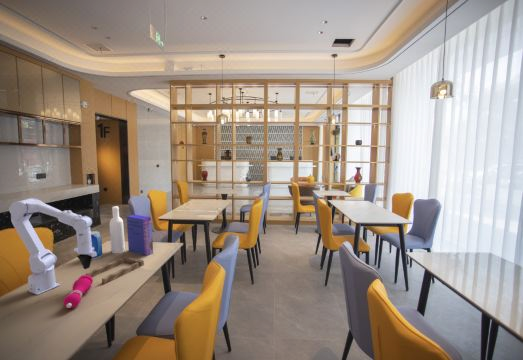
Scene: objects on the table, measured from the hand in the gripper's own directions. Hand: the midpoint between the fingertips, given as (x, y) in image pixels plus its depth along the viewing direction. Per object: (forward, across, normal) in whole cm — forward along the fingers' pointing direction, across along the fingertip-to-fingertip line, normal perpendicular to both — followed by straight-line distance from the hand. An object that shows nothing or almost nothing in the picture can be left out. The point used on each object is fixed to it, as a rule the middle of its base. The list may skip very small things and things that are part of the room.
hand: (86, 268), depth 125 cm
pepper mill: (+5, -3, +2) cm, 6 cm away
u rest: (+8, 0, -15) cm, 17 cm away
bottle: (+9, +25, -34) cm, 44 cm away
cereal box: (+9, +10, -40) cm, 42 cm away
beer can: (+9, +29, -22) cm, 37 cm away
